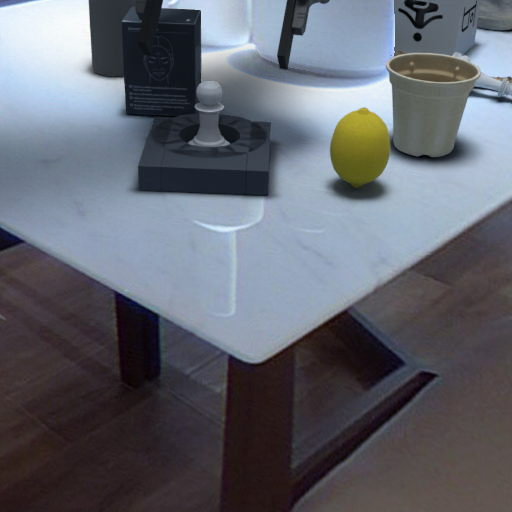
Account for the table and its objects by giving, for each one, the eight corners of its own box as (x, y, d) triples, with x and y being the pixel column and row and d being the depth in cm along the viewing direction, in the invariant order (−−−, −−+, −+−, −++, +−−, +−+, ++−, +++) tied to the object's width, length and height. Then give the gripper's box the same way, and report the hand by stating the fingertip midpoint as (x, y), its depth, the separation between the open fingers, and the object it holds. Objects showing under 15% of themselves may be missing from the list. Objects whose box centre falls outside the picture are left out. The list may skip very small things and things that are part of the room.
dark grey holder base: (138, 190, 89) (138, 165, 88) (156, 133, 101) (155, 110, 100) (267, 195, 89) (268, 171, 88) (270, 137, 101) (271, 115, 100)
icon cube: (485, -30, 126) (474, 44, 131) (412, -40, 130) (404, 32, 135) (463, -13, 118) (452, 65, 123) (387, -25, 122) (379, 51, 127)
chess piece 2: (442, 93, 116) (522, 120, 113) (441, 77, 112) (525, 105, 109) (455, 61, 116) (535, 87, 114) (456, 45, 112) (539, 71, 109)
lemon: (350, 205, 88) (358, 123, 84) (315, 182, 92) (321, 103, 88) (397, 192, 90) (407, 112, 86) (361, 170, 94) (369, 93, 90)
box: (201, 100, 109) (202, 8, 104) (195, 118, 105) (195, 23, 99) (133, 96, 110) (130, 4, 105) (124, 114, 105) (120, 19, 100)
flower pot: (394, 122, 105) (403, 46, 101) (478, 140, 102) (491, 61, 98) (364, 153, 98) (372, 72, 94) (454, 172, 95) (466, 89, 90)
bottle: (83, 67, 118) (75, -58, 110) (121, 58, 121) (117, -64, 114) (110, 80, 114) (104, -49, 107) (150, 70, 118) (146, -55, 110)
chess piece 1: (235, 166, 94) (236, 89, 90) (187, 168, 94) (186, 90, 90) (229, 147, 98) (230, 72, 94) (183, 148, 98) (182, 73, 94)
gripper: (373, -102, 98) (343, 86, 93) (140, -119, 102) (99, 61, 97) (373, -152, 91) (340, 49, 86) (122, -167, 95) (76, 24, 90)
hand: (212, 56), depth 92 cm, fingers open, 13 cm apart
